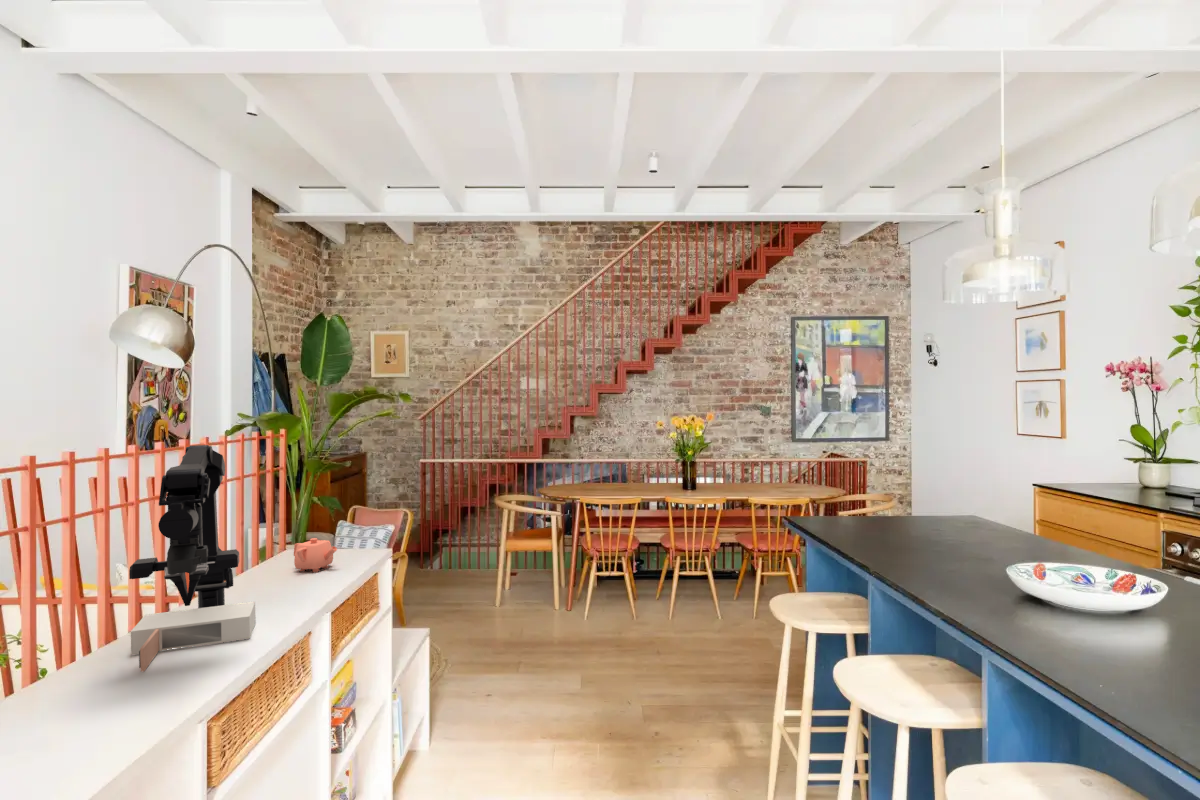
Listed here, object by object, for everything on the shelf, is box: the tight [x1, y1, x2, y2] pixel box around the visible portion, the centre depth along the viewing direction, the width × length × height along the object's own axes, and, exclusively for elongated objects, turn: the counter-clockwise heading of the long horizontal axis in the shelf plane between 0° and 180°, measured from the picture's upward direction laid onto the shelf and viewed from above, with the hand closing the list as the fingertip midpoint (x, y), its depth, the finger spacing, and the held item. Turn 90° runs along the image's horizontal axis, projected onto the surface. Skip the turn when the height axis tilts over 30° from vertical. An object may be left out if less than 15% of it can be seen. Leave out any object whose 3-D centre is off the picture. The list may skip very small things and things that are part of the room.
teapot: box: [293, 537, 338, 573], centre depth 207 cm, size 12×12×10 cm
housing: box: [130, 601, 257, 656], centre depth 147 cm, size 12×22×5 cm, turn 112°
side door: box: [138, 629, 159, 673], centre depth 133 cm, size 1×12×4 cm, turn 22°
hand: (187, 605), depth 135 cm, fingers closed
